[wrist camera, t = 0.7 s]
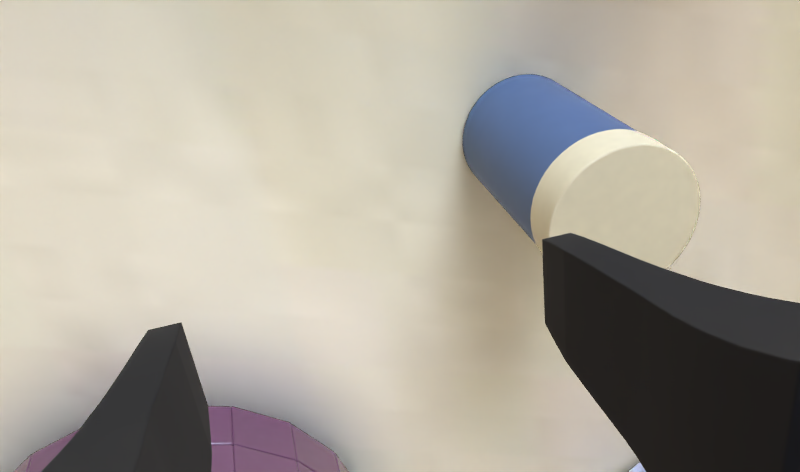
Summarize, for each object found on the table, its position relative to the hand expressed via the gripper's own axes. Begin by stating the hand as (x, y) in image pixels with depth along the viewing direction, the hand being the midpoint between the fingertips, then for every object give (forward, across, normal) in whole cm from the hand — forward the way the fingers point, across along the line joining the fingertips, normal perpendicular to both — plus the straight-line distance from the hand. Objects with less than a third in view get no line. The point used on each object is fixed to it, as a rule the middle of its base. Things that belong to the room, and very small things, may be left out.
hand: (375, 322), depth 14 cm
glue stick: (+10, -7, +1) cm, 12 cm away
